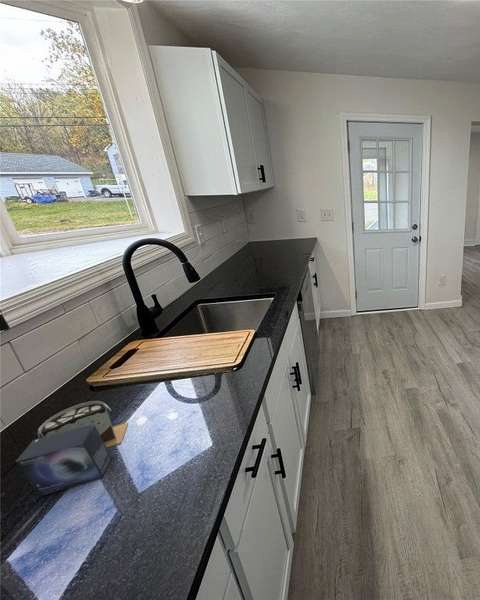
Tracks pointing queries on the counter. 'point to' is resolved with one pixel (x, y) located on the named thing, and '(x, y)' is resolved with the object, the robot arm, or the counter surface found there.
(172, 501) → the counter surface
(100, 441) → the small box
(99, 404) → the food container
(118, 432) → the cork pad
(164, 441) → the counter surface
